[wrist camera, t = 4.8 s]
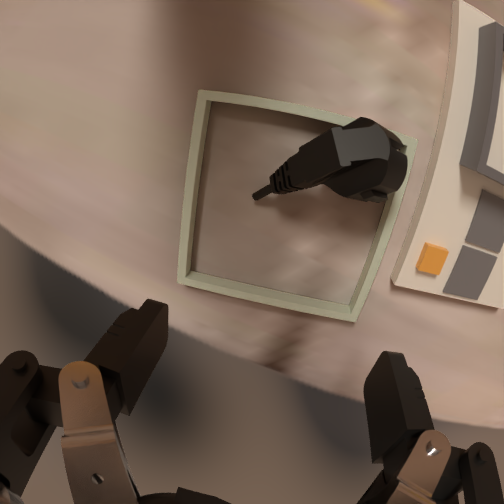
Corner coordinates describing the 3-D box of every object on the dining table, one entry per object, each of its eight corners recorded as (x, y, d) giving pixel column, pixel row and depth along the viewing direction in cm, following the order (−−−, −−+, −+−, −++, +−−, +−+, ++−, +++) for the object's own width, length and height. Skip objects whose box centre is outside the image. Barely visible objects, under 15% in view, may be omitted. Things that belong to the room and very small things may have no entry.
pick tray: (204, 91, 22) (198, 89, 21) (411, 138, 21) (418, 139, 20) (182, 275, 30) (177, 282, 28) (353, 313, 29) (355, 322, 27)
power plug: (243, 164, 25) (355, 90, 15) (306, 177, 29) (409, 127, 20) (251, 229, 24) (381, 175, 14) (316, 232, 28) (430, 195, 19)
